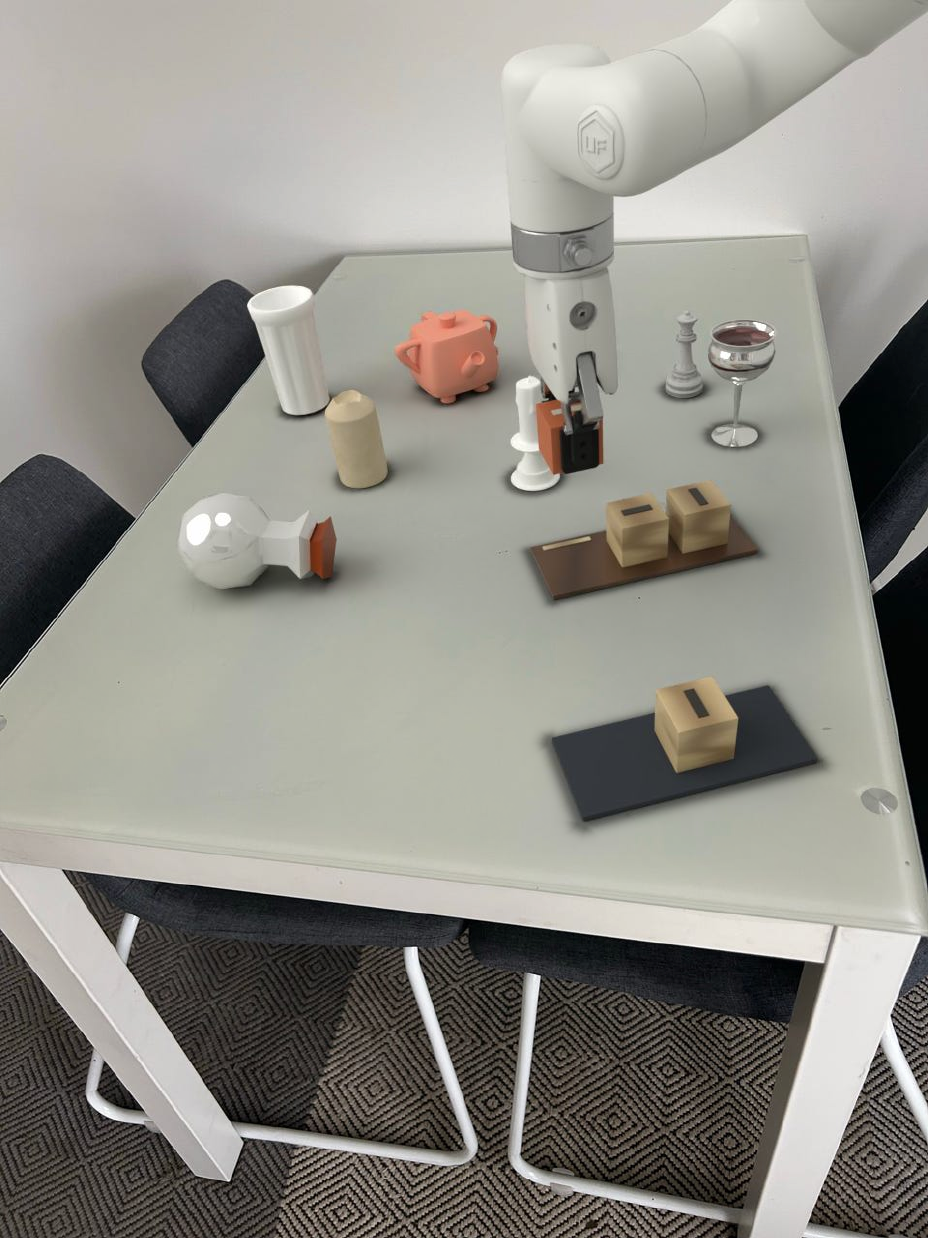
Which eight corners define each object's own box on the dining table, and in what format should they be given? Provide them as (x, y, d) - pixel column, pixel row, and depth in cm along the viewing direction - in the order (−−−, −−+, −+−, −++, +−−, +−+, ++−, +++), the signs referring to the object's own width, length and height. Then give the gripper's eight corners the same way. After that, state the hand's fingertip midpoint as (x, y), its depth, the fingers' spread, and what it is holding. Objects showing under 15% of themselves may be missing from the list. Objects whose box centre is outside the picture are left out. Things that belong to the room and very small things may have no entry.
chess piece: (708, 394, 111) (713, 313, 105) (673, 401, 111) (676, 321, 105) (694, 378, 115) (698, 299, 108) (660, 385, 114) (662, 306, 108)
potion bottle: (195, 581, 97) (337, 592, 96) (156, 587, 87) (313, 600, 86) (199, 491, 96) (342, 502, 95) (160, 487, 86) (319, 499, 85)
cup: (347, 407, 119) (323, 298, 110) (288, 428, 117) (259, 318, 108) (323, 384, 125) (298, 279, 116) (266, 404, 123) (237, 298, 113)
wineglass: (763, 453, 101) (774, 348, 93) (699, 448, 103) (705, 345, 95) (768, 421, 105) (780, 319, 97) (707, 418, 107) (713, 317, 100)
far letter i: (650, 531, 92) (651, 491, 89) (667, 557, 88) (669, 517, 85) (606, 541, 91) (605, 501, 88) (622, 567, 88) (621, 527, 85)
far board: (722, 508, 94) (722, 503, 94) (757, 553, 88) (758, 548, 87) (530, 551, 92) (530, 546, 92) (553, 600, 86) (553, 595, 86)
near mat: (767, 689, 75) (768, 684, 74) (817, 762, 69) (818, 758, 68) (551, 741, 73) (551, 737, 73) (583, 821, 67) (582, 817, 67)
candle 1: (386, 486, 104) (370, 405, 98) (337, 491, 104) (318, 411, 98) (390, 460, 108) (374, 381, 102) (343, 464, 109) (325, 386, 102)
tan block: (709, 716, 73) (712, 674, 70) (734, 759, 69) (738, 717, 66) (654, 730, 72) (655, 688, 69) (676, 773, 69) (678, 731, 66)
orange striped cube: (587, 438, 83) (586, 391, 80) (603, 464, 80) (603, 416, 77) (538, 449, 83) (535, 402, 80) (553, 475, 79) (550, 427, 76)
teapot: (486, 413, 114) (478, 338, 108) (398, 405, 118) (385, 332, 112) (516, 369, 122) (510, 297, 116) (432, 363, 126) (422, 293, 120)
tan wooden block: (708, 518, 92) (711, 478, 89) (727, 543, 89) (731, 503, 86) (664, 527, 92) (666, 488, 89) (682, 554, 88) (684, 513, 85)
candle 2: (522, 462, 105) (514, 362, 97) (567, 468, 103) (562, 367, 95) (503, 487, 101) (493, 386, 93) (549, 495, 99) (542, 392, 91)
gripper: (652, 270, 63) (647, 496, 75) (576, 199, 76) (582, 401, 88) (545, 291, 62) (557, 515, 74) (487, 215, 75) (505, 417, 87)
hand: (570, 451), depth 81 cm, fingers closed on orange striped cube, 4 cm apart
